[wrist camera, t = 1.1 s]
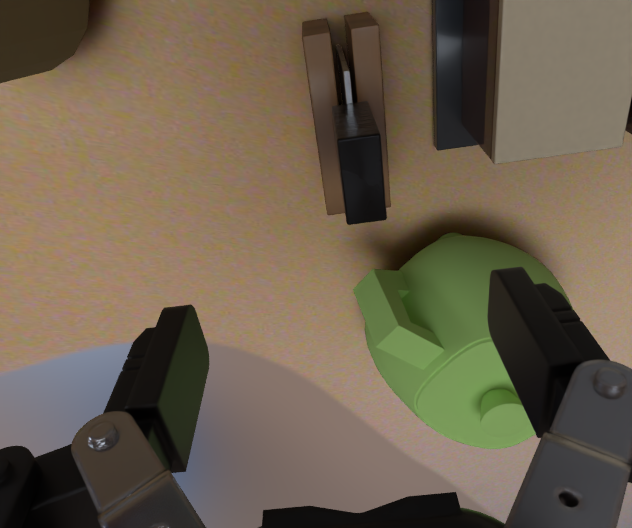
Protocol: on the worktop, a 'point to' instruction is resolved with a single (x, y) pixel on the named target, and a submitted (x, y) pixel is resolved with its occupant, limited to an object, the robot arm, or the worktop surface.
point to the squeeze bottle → (39, 34)
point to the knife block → (324, 92)
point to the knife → (358, 154)
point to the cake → (531, 76)
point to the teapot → (448, 338)
